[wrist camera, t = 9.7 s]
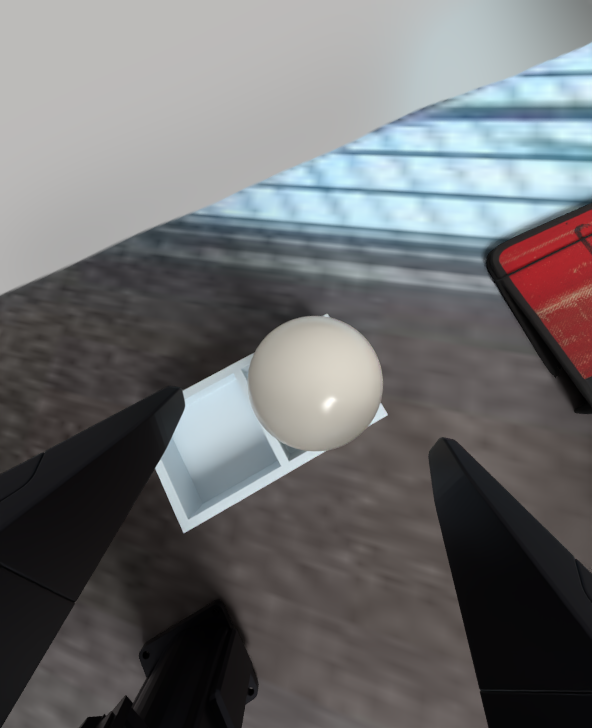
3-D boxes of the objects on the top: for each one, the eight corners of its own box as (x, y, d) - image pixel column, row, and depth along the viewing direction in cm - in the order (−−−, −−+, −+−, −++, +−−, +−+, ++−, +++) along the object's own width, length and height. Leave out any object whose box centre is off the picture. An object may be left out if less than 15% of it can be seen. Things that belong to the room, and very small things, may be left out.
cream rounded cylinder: (292, 437, 19) (283, 505, 7) (262, 379, 20) (201, 341, 7) (349, 404, 19) (443, 410, 7) (317, 349, 20) (350, 263, 8)
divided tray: (204, 509, 19) (183, 533, 16) (160, 414, 20) (132, 417, 17) (372, 412, 20) (387, 414, 17) (322, 327, 21) (327, 313, 18)
